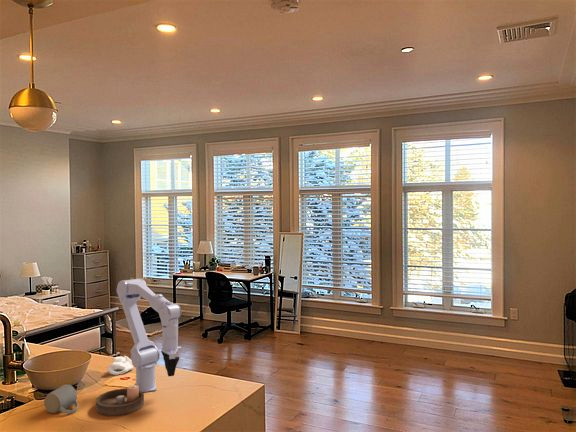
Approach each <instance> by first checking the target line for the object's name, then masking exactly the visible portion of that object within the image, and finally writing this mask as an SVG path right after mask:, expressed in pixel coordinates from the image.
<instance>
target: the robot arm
mask: <svg viewBox="0 0 576 432" xmlns="http://www.w3.org/2000/svg"><path fill="white" fill-rule="evenodd" d="M116 294H117V296H118V299H119V302H120V303H121V305H122V306H121V307H122V309H123V313H124V315H125V318H126V321H127V324H128V328H129V331H130V334H131V337H132V340H133V343H134V345H133V346H132V348H131V349H130V352H129V353H130V357H131V358H130V359H131V361H132V366H133V368H135V382H134V385H137V386H139V390H140V391H142V392H143V393H145V392H146V393H147V392H154V391H157V385H156V384H157V383H156V365H157V363H158V361H159V360H160V359H161V354H162V356H163V361H164V366H165V370H166V373H167V377H174V376H175V373H176V368H177V365H178V362H179V361H180V356H176V353H177V352H178V351H180V350H182V346H180V345H179V344H178V343H179V318H180V317H182V307H181V306H180V304H178V303H177V302H175V303H173V302H171V301H169V300H168V299H167V298H165V297H164V295H163V294H162V293H160V294H159V293H158V294H156V293H155V292H154V291H152V289H150V288H149V287H148V286H147V281H145V280H144V279H143V278H142V277H138V278H133V279H124V280H123V279H122V280H120V281H119V282H118V283H117V287H116ZM141 297H142V298H143V299H144V300H146V301H148V302H149V306H150V308H152V309H153V310H154V311H155V312H156V313H158V315H159V318H160V322H161V326H162V327H161V328H162V331H161V333H162V334H161V335H162V336H161V337H162V347H161V350H160V351H159V348H158V347H157V346H156V343H155V342H154V341H152V340H151V339H149V338H148V335H147V332H146V329H145V325H144V322H143V320H142V316H141V314H140V310H139V308H138V304H137V302H138V301H140V299H141Z"/></svg>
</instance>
